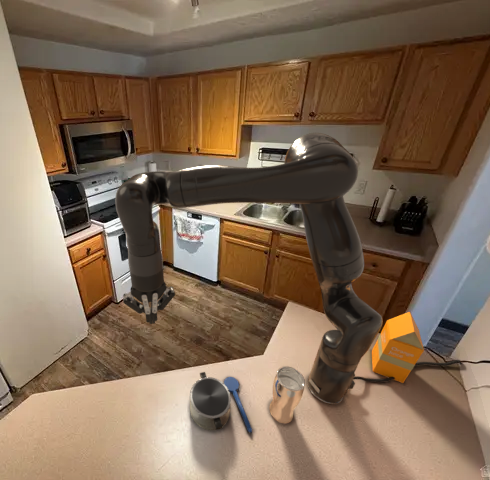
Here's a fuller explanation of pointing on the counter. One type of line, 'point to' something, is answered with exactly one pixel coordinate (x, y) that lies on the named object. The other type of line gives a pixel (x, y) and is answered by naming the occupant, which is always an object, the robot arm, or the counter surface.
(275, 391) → the beer glass
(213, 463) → the counter surface
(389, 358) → the orange juice
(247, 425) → the blue spoon
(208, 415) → the steel pot
